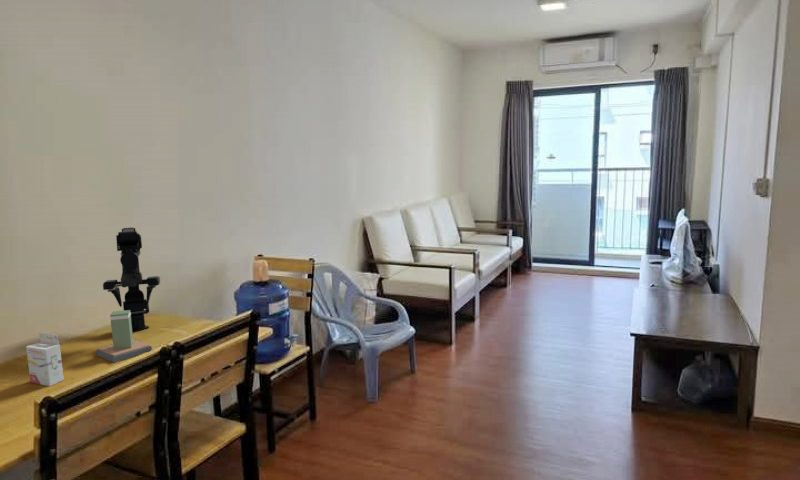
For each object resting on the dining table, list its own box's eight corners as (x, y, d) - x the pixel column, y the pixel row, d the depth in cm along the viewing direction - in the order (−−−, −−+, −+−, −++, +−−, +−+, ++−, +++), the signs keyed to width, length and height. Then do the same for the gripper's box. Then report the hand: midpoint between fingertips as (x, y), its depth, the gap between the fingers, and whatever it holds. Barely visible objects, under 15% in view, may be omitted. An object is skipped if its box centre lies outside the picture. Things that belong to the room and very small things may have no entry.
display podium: (96, 354, 184) (95, 348, 183) (133, 344, 194) (132, 338, 194) (114, 362, 176) (113, 356, 176) (151, 351, 186) (151, 345, 186)
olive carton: (113, 349, 182) (110, 315, 180) (116, 345, 186) (112, 311, 184) (131, 347, 183) (128, 313, 182) (133, 343, 188) (130, 309, 186)
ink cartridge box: (29, 383, 160) (23, 337, 158) (44, 376, 165) (39, 331, 163) (49, 386, 158) (43, 339, 156) (64, 380, 162) (59, 334, 160)
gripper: (97, 269, 187) (101, 312, 188) (154, 265, 192) (158, 306, 194) (104, 265, 197) (108, 306, 199) (158, 261, 203) (162, 301, 204)
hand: (134, 305), depth 199 cm, fingers open, 9 cm apart
